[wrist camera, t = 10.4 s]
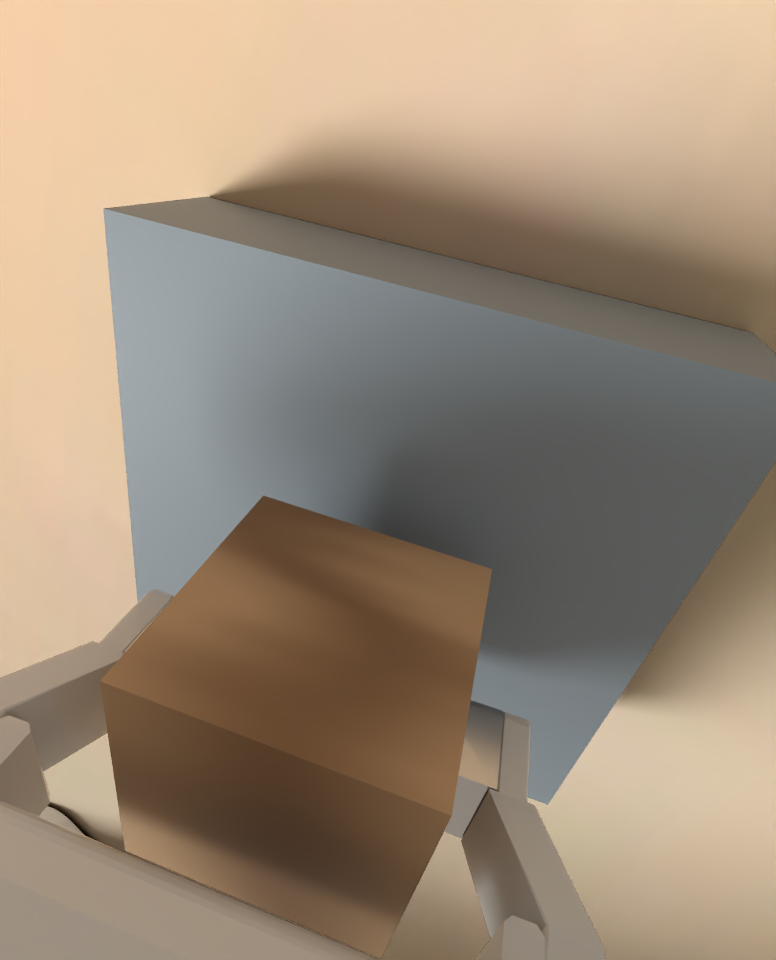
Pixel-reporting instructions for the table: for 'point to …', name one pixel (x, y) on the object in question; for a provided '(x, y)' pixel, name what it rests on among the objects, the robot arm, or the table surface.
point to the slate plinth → (438, 434)
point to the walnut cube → (301, 719)
